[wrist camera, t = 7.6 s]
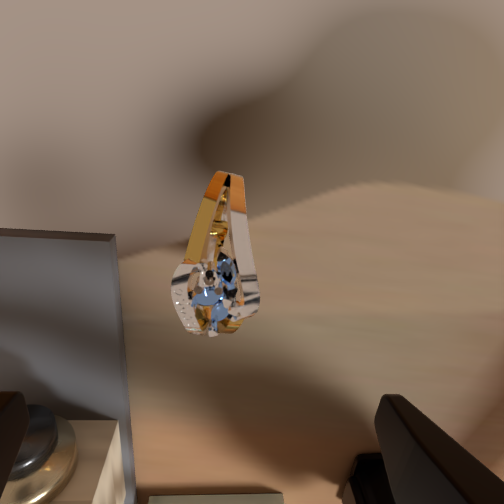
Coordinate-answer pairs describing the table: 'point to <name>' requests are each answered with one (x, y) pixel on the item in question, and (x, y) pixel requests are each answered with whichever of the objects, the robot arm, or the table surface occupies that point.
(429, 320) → the table surface
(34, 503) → the shaft
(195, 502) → the tray
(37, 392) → the block
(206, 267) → the ring
